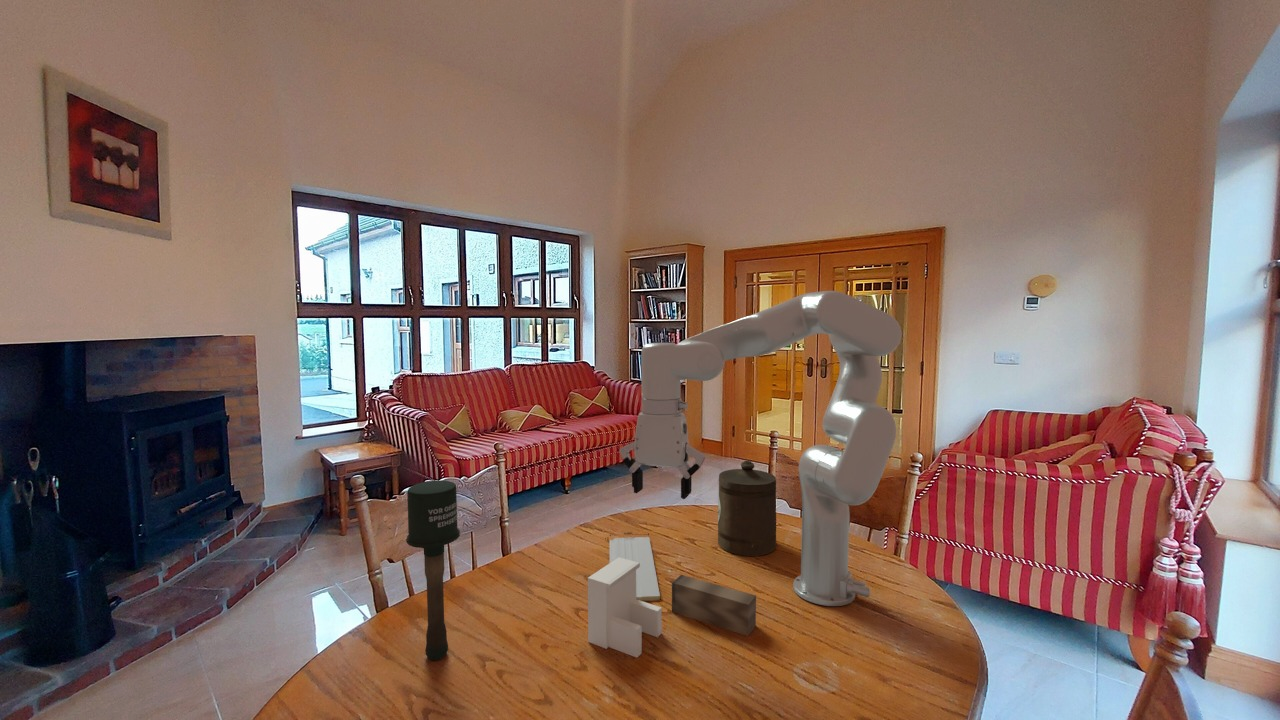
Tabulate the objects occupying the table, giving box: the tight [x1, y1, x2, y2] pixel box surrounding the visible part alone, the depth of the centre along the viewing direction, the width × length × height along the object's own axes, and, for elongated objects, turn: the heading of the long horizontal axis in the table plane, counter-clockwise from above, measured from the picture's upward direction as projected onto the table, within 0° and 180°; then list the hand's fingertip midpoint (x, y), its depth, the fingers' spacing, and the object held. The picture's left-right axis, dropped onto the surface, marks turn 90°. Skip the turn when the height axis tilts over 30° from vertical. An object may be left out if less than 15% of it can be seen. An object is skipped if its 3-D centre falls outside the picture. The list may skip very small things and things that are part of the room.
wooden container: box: [717, 460, 777, 557], centre depth 140 cm, size 15×15×22 cm
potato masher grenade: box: [405, 480, 461, 661], centre depth 93 cm, size 8×9×30 cm
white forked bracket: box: [587, 557, 663, 658], centre depth 99 cm, size 10×10×12 cm
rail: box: [671, 574, 757, 637], centre depth 105 cm, size 16×4×6 cm, turn 58°
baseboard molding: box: [604, 531, 661, 602], centre depth 128 cm, size 31×3×12 cm
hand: (661, 494), depth 105 cm, fingers open, 9 cm apart
